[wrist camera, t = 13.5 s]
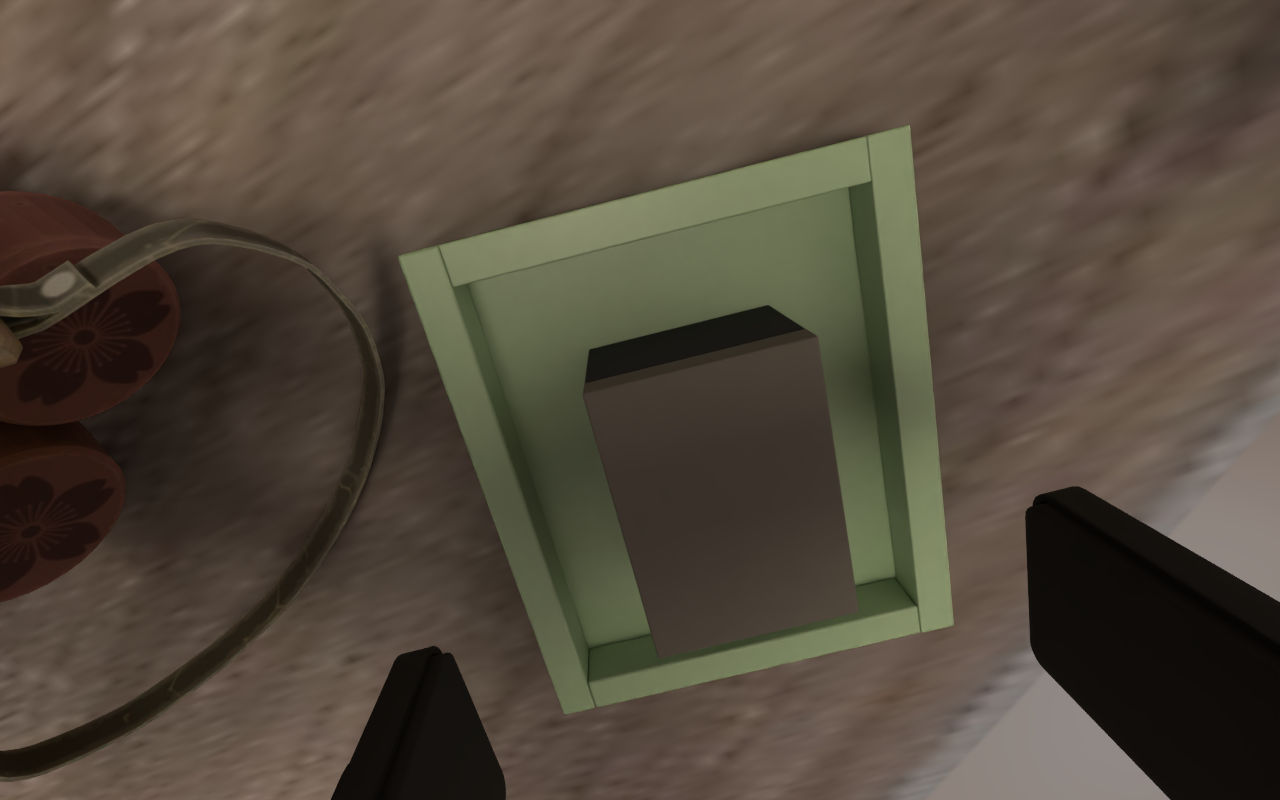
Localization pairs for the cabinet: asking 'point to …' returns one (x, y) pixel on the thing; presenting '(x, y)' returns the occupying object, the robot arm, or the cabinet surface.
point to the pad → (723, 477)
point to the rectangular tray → (674, 297)
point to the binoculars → (96, 381)
